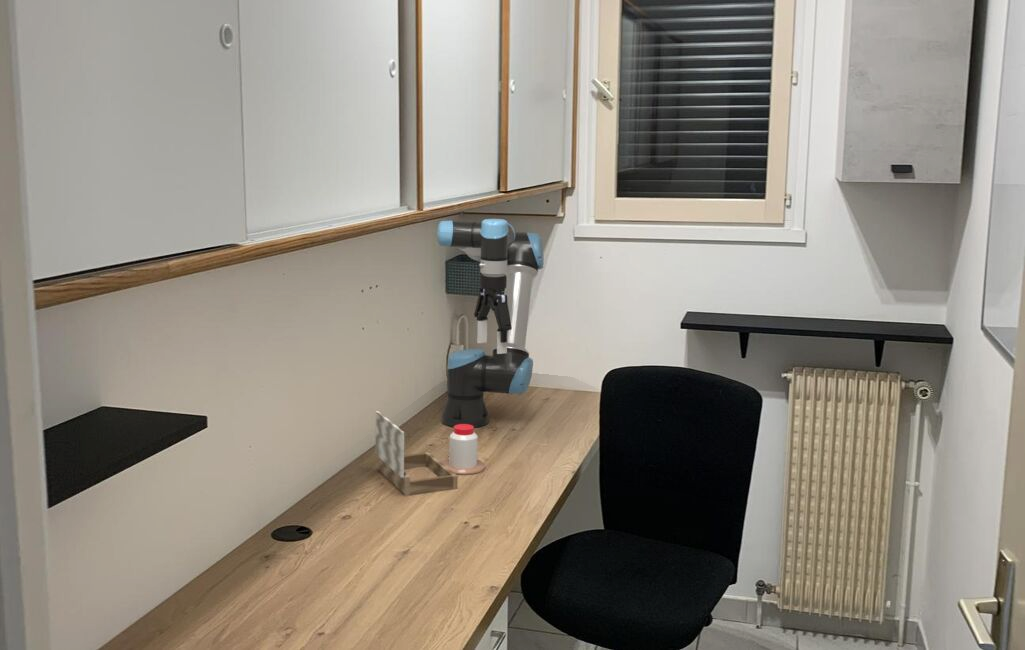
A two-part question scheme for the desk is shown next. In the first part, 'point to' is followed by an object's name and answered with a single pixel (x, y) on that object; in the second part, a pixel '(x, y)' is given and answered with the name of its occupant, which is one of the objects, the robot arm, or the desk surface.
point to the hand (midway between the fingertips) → (491, 348)
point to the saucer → (477, 469)
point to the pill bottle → (463, 447)
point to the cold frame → (408, 462)
